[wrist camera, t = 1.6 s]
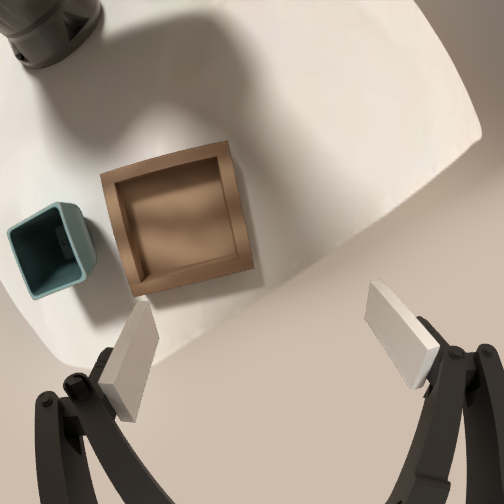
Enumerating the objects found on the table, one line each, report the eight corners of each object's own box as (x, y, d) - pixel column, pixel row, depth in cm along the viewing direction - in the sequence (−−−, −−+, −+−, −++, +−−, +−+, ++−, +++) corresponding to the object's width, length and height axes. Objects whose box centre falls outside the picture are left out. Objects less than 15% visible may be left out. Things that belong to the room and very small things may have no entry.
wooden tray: (110, 175, 32) (99, 174, 28) (224, 145, 34) (227, 140, 30) (139, 286, 36) (133, 297, 32) (248, 259, 38) (254, 268, 34)
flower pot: (62, 278, 33) (32, 302, 25) (40, 220, 31) (4, 230, 22) (111, 258, 34) (87, 280, 26) (89, 195, 32) (58, 199, 23)
